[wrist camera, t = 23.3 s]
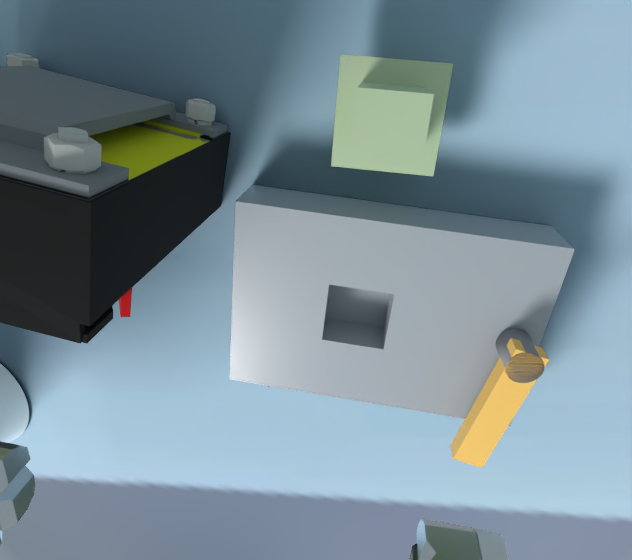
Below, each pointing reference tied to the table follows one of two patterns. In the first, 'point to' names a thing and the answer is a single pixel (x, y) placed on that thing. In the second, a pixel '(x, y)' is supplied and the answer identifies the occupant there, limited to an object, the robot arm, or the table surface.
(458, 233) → the grey flat block
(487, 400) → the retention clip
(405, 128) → the plug
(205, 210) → the electrical component
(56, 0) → the table surface
